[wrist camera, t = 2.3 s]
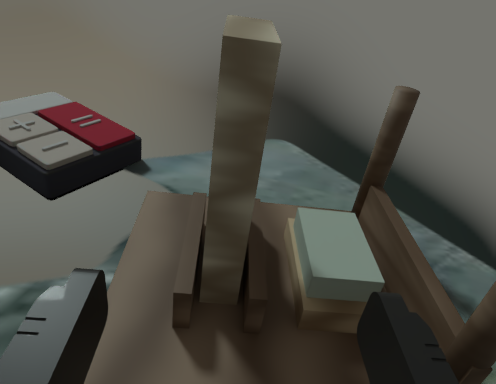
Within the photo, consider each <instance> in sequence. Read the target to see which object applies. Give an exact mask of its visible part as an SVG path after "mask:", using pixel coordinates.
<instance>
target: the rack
mask: <svg viewBox="0 0 496 384" xmlns="http://www.w3.org/2000/svg"><path fill="white" fill-rule="evenodd" d="M419 94H420V92H419V91H418V90H416V89H413V88H410V87H404V86H396V87H395V89H394V92H393V95H392V98H391V101H390V104H389V106H388V109H387V112H386V115H385V118H384V121H383V123H382V126H381V129H380V132H379V135H378V138H377V140H376V143H375V146H374V149H373V152H372V155H371V158H370V160H369V163H368V166H367V169H366V172H365V175H364V178H363V180H362V183H361V186H360V189H359V192H358V194H357V197H356V200H355V203H354V206H353V209H352V211H344V210H334V209H324V208H314V207H304V206H294V205H284V204H274V203H265V202H260V199H255V202H254V207H253V213H252V219H251V225H250V231H249V237H248V242H247V248H246V254H245V260H244V266H243V272H242V277H241V283H240V289H239V295H238V301H237V305H230V304H217V303H205V302H199V301H200V289H201V278H202V266H203V255H204V244H205V232H206V221H207V210H208V198H209V197H206V195H207V194H206V193H196V192H194V193H193V195H186V194H176V193H166V192H156V191H148V192H147V194H146V197H145V199H144V202H143V204H142V207H141V209H140V212H139V214H138V217H137V219H136V222H135V224H134V227H133V229H132V232H131V234H130V237H129V239H128V242H127V244H126V247H125V249H124V252H123V254H122V257H121V259H120V262H119V264H118V267H117V269H116V272H115V274H114V277H113V279H112V282H111V284H110V287H109V289H108V292H107V298H108V316H107V321H106V325H105V328H104V331H103V333H102V336H101V339H100V341H99V344H98V347H97V349H96V352H95V355H94V358H93V360H92V363H91V366H90V368H89V371H88V374H87V376H86V379H85V382H84V384H370V382H369V378H368V375H367V372H366V368H365V365H364V362H363V358H362V355H361V352H360V348H359V345H358V341H357V334H355V333H342V332H328V331H314V330H301V329H298V328H297V321H296V315H295V308H294V301H293V294H292V287H291V281H290V274H289V267H288V260H287V254H286V247H285V240H284V232H285V228H286V224H287V220H288V218H294V219H295V217H296V213H297V209H298V207H300V208H310V209H319V210H329V211H339V212H349V213H355V215H356V217H357V219H358V222H359V224H360V226H361V229H362V231H363V233H364V236H365V238H366V240H367V242H368V245H369V247H370V249H371V252H372V254H373V256H374V259H375V261H376V263H377V265H378V268H379V270H380V272H381V275H382V277H383V279H384V282H385V283H384V286H383V288H382V290H381V292H387V293H398V294H400V295H401V296H402V298H403V300H404V302H405V304H406V306H407V308H408V310H409V312H415V313H417V314H418V315H419V316H420V317H421V318H422V319H423V320H424V321H425V322H426V323H427V324H428V326H429V327H430V328H431V330H432V332H433V333H434V335H435V337H436V339H437V341H438V343H439V348H441V349H442V351H443V353H444V355H445V357H446V362H448V363H449V365H450V367H451V369H452V371H453V373H454V375H455V376H456V378H457V380H458V382H459V384H481V383H482V382H483V381H484V379H485V378H486V377H487V376H488V375H489V374H490V373H491V371H492V368H491V366H492V365H493V364H494V363H495V362H496V281H495V283H494V284H493V286H492V287H491V288H490V290H489V291H488V293H487V294H486V295H485V297H484V298H483V300H482V301H481V302H480V304H479V305H478V307H477V308H476V310H475V311H474V312H473V314H472V315H471V317H470V318H469V319H468V321H467V322H466V324H465V323H464V321H463V320H462V318H461V316H460V315H459V313H458V311H457V310H456V308H455V306H454V305H453V303H452V301H451V300H450V298H449V296H448V295H447V293H446V291H445V290H444V288H443V286H442V285H441V283H440V281H439V280H438V278H437V277H436V275H435V273H434V272H433V270H432V268H431V267H430V265H429V263H428V262H427V260H426V258H425V257H424V255H423V253H422V252H421V250H420V248H419V247H418V245H417V243H416V242H415V240H414V238H413V237H412V235H411V233H410V232H409V230H408V228H407V227H406V225H405V223H404V222H403V220H402V218H401V217H400V215H399V213H398V212H397V210H396V208H395V207H394V205H393V204H392V202H391V200H390V198H389V197H388V195H387V194H386V192H385V190H384V189H383V186H384V184H385V181H386V178H387V176H388V173H389V171H390V168H391V166H392V163H393V160H394V158H395V156H396V153H397V150H398V148H399V145H400V143H401V140H402V138H403V135H404V133H405V130H406V127H407V125H408V122H409V120H410V117H411V114H412V112H413V110H414V107H415V104H416V102H417V99H418V97H419Z"/></svg>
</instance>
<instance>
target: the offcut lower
mask: <svg viewBox="0 0 496 384" xmlns="http://www.w3.org/2000/svg"><path fill="white" fill-rule="evenodd" d="M294 221H295V219H294V218H288V220H287V224H286V228H285V232H284V240H285V247H286V254H287V260H288V267H289V274H290V281H291V287H292V294H293V301H294V308H295V315H296V321H297V328H298V329H301V330H314V331H328V332H342V333H355V334H357V326H358V322H359V320H360V318H361V315H362V313H363V311H364V308H365V306H366V304H367V302H360V301H348V300H335V299H323V298H310V297H306V293H305V287H304V282H303V276H302V271H301V266H300V260H299V255H298V250H297V244H296V239H295V234H294V228H293V225H294Z"/></svg>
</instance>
